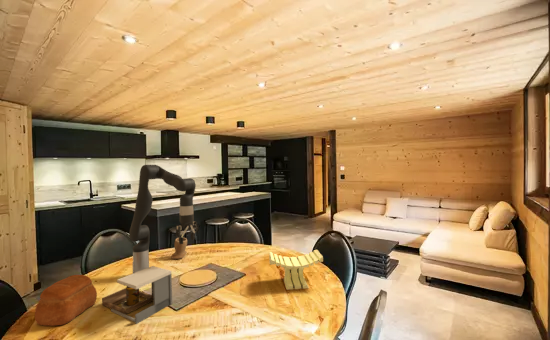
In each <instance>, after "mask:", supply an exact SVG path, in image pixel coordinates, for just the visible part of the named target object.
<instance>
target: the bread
mask: <svg viewBox="0 0 550 340" xmlns="http://www.w3.org/2000/svg"><path fill="white" fill-rule="evenodd" d="M97 295H98V293H97V289H96V287H95V286H94V285H93V280H92V279H91V277H90V276H88V275H85V274H73V275H68V276H67V277H66V278H63V279H60V280H58V281H56V282H54V283H53V284H51V285H50V286H48V287H45V289H44V290H43V291H42V292H41V294H40V295H39V300H38V302H37V304H36V306H35V310H34V320H35V323H36V324H37V325H40V326H45V327H47V326H49V327H51V326H53V327H55V326H62V325H66V324H68V323H70V322H71V321H73V320H74V319H75V318H76V317H77V316H79V315H81V314H82V313H84V311H86V310H88V309H89V308H91V307H92V306H93V305H95V304H96V301H97V298H98V297H97Z"/></svg>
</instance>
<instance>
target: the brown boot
mask: <svg viewBox="0 0 550 340" xmlns="http://www.w3.org/2000/svg"><path fill="white" fill-rule="evenodd" d="M187 245H188V239H187V237H183V244H180V243H179V237H176V238H175V240H174V253H173V254H172V255H171V257H170V258H171V259H174V260H177V259H178V260H179V259H183V258H184V257H186V255H187V252H188V251H187V250H186V248H187Z"/></svg>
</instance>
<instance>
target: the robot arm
mask: <svg viewBox="0 0 550 340" xmlns="http://www.w3.org/2000/svg"><path fill="white" fill-rule="evenodd" d="M156 179H157V180H163V182H164V183H165V184H166V185H168V186H171V187H173V188H174V189H176V191H179V192H184V194H182V195H181V196H180V197H179V223H180V225H176V226H175V237H176V238H179V243H180V244H183V238H184V236H185V234H186V233H187V232H190V240H191V241H194V240H195V238H196V235H195V233H196V232H198V222H197V221H194V218H195V217H194V195H195V191H196V185H197V184H196V181H195V180H194V178H183V177H182V176H181V175H179V174H175V173H172V172H170V171H168V170H166V169H165V168H163V167H161V166H159V165H158V164H144V165H142V166H141V168H140V170H139V180H138V190H137V196H136V200H135V208H134V212H133V213H134V214H133V218H132V221H131V224H130V225H131V226H130V228H129V233H128V234H129V235H128V236H129V239H130V241H131V242H133V243H134V242H137V243H136V244H135V245H133V247H132V274H133V273H136V272H138V271H141V270H143V269H146V268H149V267H150V252H149V250H150V249H149V247H150V241H151V240H150V237H151V236H150V234H151V233H150V232H151V231H150V228H149V225H146V224H143V225H142V222H143V221H144V220H145V218H146V217H147V215H148V214H150V211H151V210H152V206H153V196H152V193H151V192H150V189H149V182H150V180H156Z"/></svg>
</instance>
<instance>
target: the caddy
mask: <svg viewBox="0 0 550 340" xmlns="http://www.w3.org/2000/svg"><path fill="white" fill-rule="evenodd" d="M139 297H142V298H145V299H144V300H142V301H141V300H140V302H139V303H137V304H135V305H133V306H131V307H128V308H125V309H124V308H122V306H119V305H121V303H122V302H126V287H125V288H122V289H121V290H118V291H115V292H113V293H111V294H109V295H106V296H104V297H101V305H102V306H104V307H106V308H109V309H110V310H111V309H114V310H117V311H119V312H121V313H123V314H126V315H128V314H129V313H131V312H133V311H136V310H138V309H139V308H141V307H143V306H145V305H147V304H149V303H151V302H154V297H153V295H152V294H150V293H147V292H145V291H141V290H139Z"/></svg>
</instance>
